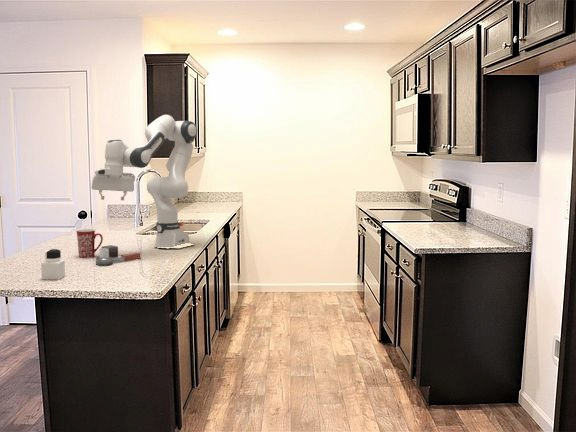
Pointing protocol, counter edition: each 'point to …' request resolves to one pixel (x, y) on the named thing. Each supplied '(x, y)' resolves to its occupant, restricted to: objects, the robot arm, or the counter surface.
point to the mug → (87, 242)
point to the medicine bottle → (53, 265)
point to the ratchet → (106, 260)
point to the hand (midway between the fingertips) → (112, 200)
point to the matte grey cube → (112, 250)
